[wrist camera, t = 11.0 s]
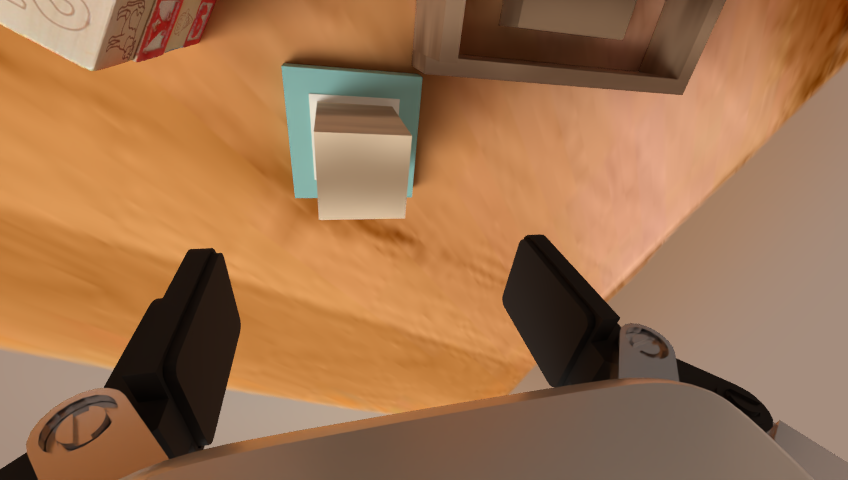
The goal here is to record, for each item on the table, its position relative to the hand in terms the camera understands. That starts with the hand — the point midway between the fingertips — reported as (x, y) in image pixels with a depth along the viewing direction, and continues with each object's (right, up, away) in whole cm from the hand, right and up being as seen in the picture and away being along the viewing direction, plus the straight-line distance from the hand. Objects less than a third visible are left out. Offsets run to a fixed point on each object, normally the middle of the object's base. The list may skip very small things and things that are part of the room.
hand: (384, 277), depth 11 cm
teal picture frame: (-4, +9, +15) cm, 18 cm away
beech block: (-4, +8, +14) cm, 16 cm away
